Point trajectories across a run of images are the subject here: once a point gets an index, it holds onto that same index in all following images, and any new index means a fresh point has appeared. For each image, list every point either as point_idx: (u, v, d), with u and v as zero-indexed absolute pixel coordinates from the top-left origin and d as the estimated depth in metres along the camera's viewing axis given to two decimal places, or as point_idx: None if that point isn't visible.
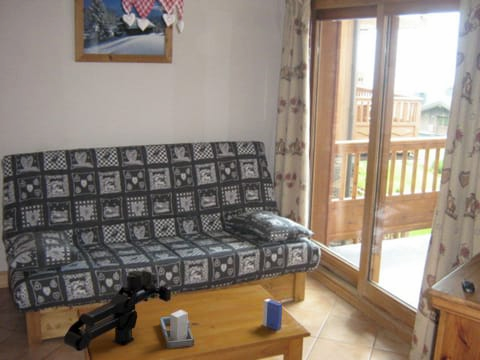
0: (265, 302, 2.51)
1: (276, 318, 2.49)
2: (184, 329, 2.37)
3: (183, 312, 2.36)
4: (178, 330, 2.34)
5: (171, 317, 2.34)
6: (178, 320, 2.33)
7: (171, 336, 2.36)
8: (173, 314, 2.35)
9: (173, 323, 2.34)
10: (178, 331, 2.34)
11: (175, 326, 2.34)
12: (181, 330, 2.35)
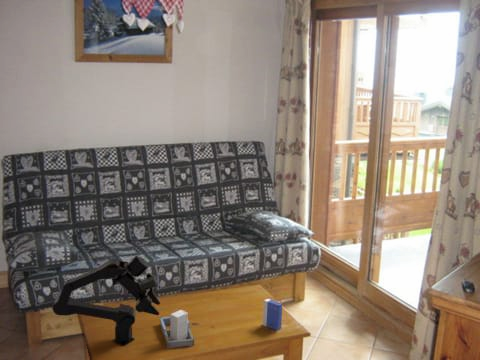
0: (265, 302, 2.51)
1: (276, 318, 2.49)
2: (184, 329, 2.37)
3: (183, 312, 2.36)
4: (178, 330, 2.34)
5: (171, 317, 2.34)
6: (178, 320, 2.33)
7: (171, 336, 2.36)
8: (173, 314, 2.34)
9: (173, 323, 2.34)
10: (178, 331, 2.34)
11: (175, 326, 2.34)
12: (181, 330, 2.35)
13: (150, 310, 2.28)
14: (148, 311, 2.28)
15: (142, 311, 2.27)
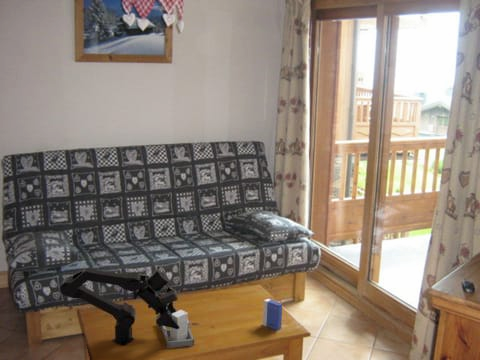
0: (265, 302, 2.51)
1: (276, 318, 2.49)
2: (184, 329, 2.37)
3: (183, 312, 2.36)
4: (178, 330, 2.34)
5: None
6: (178, 320, 2.33)
7: (171, 336, 2.36)
8: (173, 314, 2.34)
9: None
10: (178, 331, 2.34)
11: None
12: (181, 330, 2.35)
13: (170, 324, 2.30)
14: (168, 325, 2.30)
15: (162, 325, 2.29)
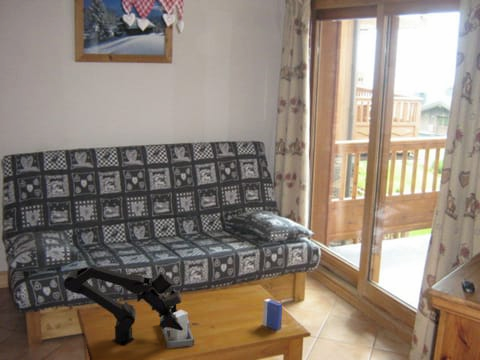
0: (265, 302, 2.51)
1: (276, 318, 2.49)
2: (184, 329, 2.37)
3: (183, 312, 2.36)
4: (178, 330, 2.34)
5: None
6: (178, 320, 2.33)
7: (171, 336, 2.36)
8: None
9: None
10: (178, 331, 2.34)
11: None
12: None
13: (174, 325, 2.31)
14: (172, 326, 2.31)
15: (166, 326, 2.30)
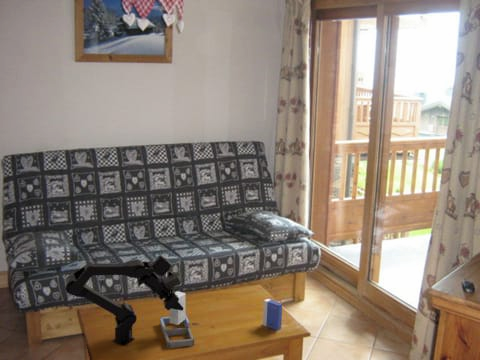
0: (265, 302, 2.51)
1: (276, 318, 2.49)
2: (183, 310, 2.41)
3: (181, 293, 2.41)
4: (179, 311, 2.38)
5: None
6: (179, 301, 2.37)
7: (171, 318, 2.40)
8: None
9: None
10: (179, 312, 2.38)
11: None
12: (181, 311, 2.40)
13: (176, 306, 2.35)
14: (174, 307, 2.35)
15: None
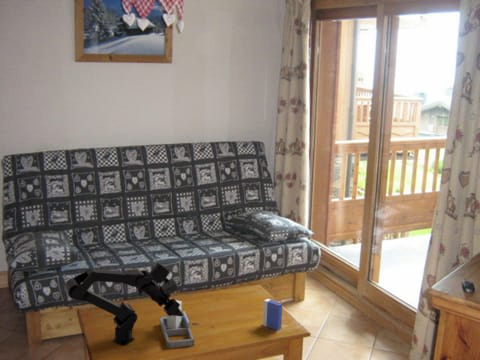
0: (265, 302, 2.51)
1: (276, 318, 2.49)
2: (179, 317, 2.46)
3: (177, 301, 2.46)
4: (176, 319, 2.43)
5: None
6: None
7: (169, 326, 2.44)
8: None
9: None
10: (176, 320, 2.43)
11: (173, 316, 2.42)
12: (178, 319, 2.45)
13: (176, 312, 2.39)
14: (175, 314, 2.39)
15: None
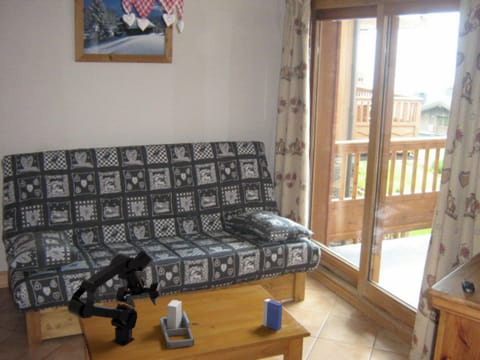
0: (265, 302, 2.51)
1: (276, 318, 2.49)
2: (179, 317, 2.46)
3: (177, 301, 2.46)
4: (176, 319, 2.43)
5: (168, 308, 2.42)
6: (176, 309, 2.42)
7: (169, 326, 2.44)
8: (170, 305, 2.43)
9: (170, 313, 2.43)
10: (176, 320, 2.43)
11: (173, 316, 2.42)
12: (178, 319, 2.45)
13: (155, 299, 2.40)
14: (154, 299, 2.39)
15: (154, 298, 2.37)
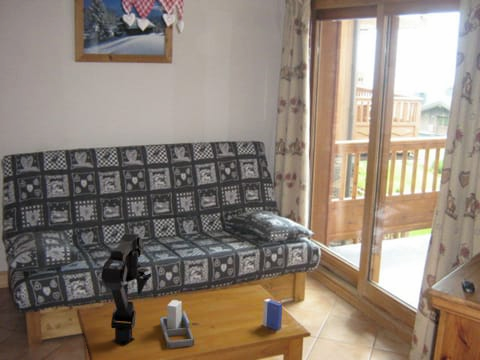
0: (265, 302, 2.51)
1: (276, 318, 2.49)
2: (179, 317, 2.46)
3: (177, 301, 2.46)
4: (176, 319, 2.43)
5: (168, 308, 2.42)
6: (176, 309, 2.42)
7: (169, 326, 2.44)
8: (170, 305, 2.43)
9: (170, 313, 2.43)
10: (176, 320, 2.43)
11: (173, 316, 2.42)
12: (178, 319, 2.45)
13: None
14: None
15: (147, 280, 2.48)
